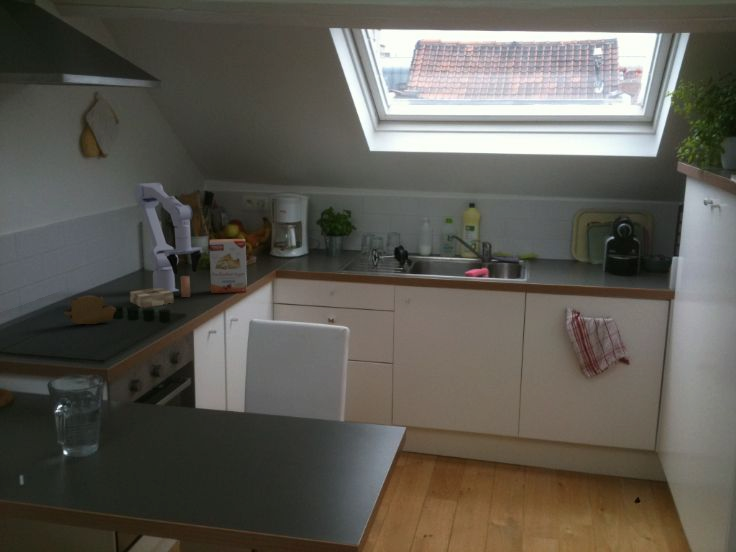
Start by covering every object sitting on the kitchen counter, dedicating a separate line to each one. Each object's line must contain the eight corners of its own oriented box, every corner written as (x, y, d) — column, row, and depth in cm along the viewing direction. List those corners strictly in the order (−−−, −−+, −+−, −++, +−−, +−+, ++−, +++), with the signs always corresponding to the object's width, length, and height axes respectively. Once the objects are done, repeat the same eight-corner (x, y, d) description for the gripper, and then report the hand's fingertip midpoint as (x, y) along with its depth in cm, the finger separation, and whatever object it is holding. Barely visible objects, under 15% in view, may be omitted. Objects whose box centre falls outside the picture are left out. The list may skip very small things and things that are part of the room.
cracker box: (211, 294, 293) (208, 241, 289) (211, 290, 298) (209, 239, 294) (247, 292, 295) (245, 240, 291) (247, 289, 301) (245, 238, 296)
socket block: (130, 301, 280) (129, 291, 279) (161, 297, 287) (160, 287, 286) (142, 307, 270) (141, 297, 269) (173, 303, 277) (173, 292, 277)
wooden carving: (116, 320, 253) (114, 291, 251) (117, 323, 249) (115, 293, 247) (64, 325, 247) (61, 295, 245) (64, 328, 242) (62, 298, 241)
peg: (180, 296, 288) (179, 276, 286) (188, 295, 290) (187, 275, 288) (183, 298, 285) (182, 277, 284) (192, 297, 287) (191, 276, 286)
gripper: (168, 240, 276) (171, 276, 278) (205, 236, 284) (207, 271, 287) (161, 238, 281) (163, 273, 284) (197, 235, 290) (199, 269, 292)
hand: (184, 272), depth 286 cm, fingers open, 7 cm apart
